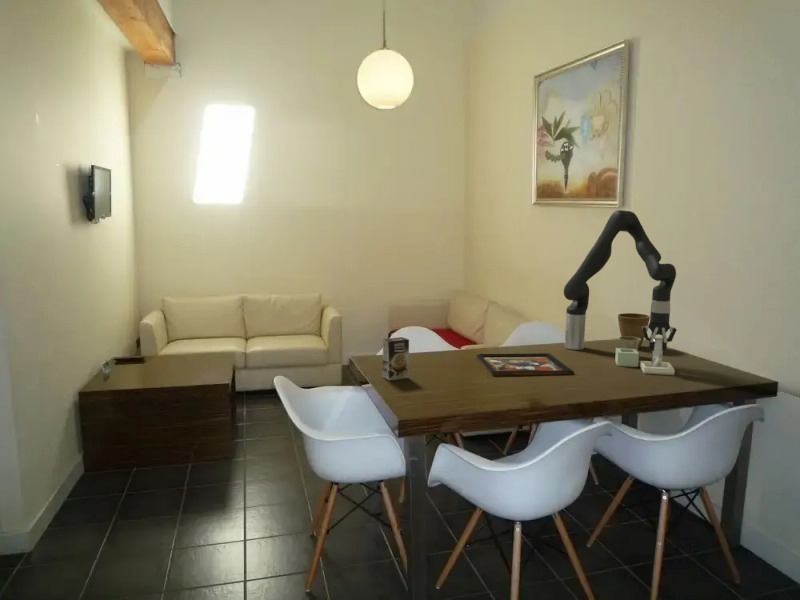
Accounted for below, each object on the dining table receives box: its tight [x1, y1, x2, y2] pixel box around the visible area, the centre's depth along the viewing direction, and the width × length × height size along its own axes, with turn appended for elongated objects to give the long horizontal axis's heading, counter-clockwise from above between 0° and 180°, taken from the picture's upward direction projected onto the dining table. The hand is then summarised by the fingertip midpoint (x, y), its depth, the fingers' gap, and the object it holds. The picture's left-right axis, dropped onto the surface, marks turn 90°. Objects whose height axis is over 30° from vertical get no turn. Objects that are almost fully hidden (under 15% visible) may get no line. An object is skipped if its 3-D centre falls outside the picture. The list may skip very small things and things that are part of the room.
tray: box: [638, 360, 676, 376], centre depth 266 cm, size 12×12×2 cm
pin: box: [651, 336, 664, 367], centre depth 265 cm, size 4×4×12 cm
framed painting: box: [476, 352, 575, 377], centre depth 273 cm, size 38×35×3 cm
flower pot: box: [619, 336, 641, 351], centre depth 290 cm, size 9×9×9 cm
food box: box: [382, 336, 410, 381], centre depth 253 cm, size 9×6×16 cm
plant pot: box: [617, 312, 650, 349], centre depth 309 cm, size 15×15×16 cm
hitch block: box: [614, 347, 640, 368], centre depth 276 cm, size 9×9×6 cm
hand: (657, 350), depth 264 cm, fingers closed on pin, 4 cm apart
